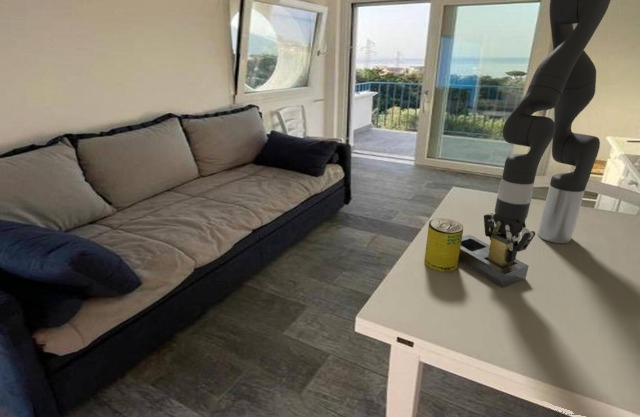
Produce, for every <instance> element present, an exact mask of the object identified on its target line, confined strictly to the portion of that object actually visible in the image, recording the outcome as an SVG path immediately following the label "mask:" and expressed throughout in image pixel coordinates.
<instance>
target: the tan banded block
mask: <svg viewBox="0 0 640 417" xmlns="http://www.w3.org/2000/svg"><path fill="white" fill-rule="evenodd" d="M513 237H514V236H512V238H513ZM514 242H515V241H514ZM490 243H491V245H490V244H489V245H490V250H489V255H488V260H487V261H489V262H491V263H493V264H494V265H496V266H498V267H500V268H501V269H503V268H506V267H509V266H512V265H513V262H514V261H512V262H510V263H507V262H506V258H507V253H508V250H509V244H510V242H509V240H508V239H507V236H506V235H505V234H502V233H499V232H498V233H497V234H496V233H492V240H490Z"/></svg>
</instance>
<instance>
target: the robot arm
mask: <svg viewBox="0 0 640 417" xmlns="http://www.w3.org/2000/svg"><path fill="white" fill-rule="evenodd" d="M610 4H611V0H550V1H549V24H550V31H551V32H550V33H551V39H552V40H551V41H552V51H551V52H550V53H549V54H548V55H547V56H546V57H545V58H544V59H543V60H542V61H541V62H540V64H539V65H538V66H537V68H536V70H535V72H534V73H533V76H532V78H531V81H530V83H529V85H528V87H527V90H526V92H525V95H524V96H523V97H522V98H521V100H520V101H519V103H518V104H517V105H516V107H514V110H512V111H511V113H510V114H509V116H508V118H506V120H505V122H504V124H503V127H502V138H503V140H504V141H505V142H506V143H507V144H511V145H516V146H522V147H528V148H529V151H528V152H527V153H516V154H511V155H508V156H507V157H506V158H505V162H504V167H503V171H502V176H501V180H500V183H499V186H498V190H497V196H496V200H495V208H494V213H492V212H491V213H487V214H484V215H483V224H484V225H483V226H484V235H485V236H486V237H488V238H489V239H490V241H491V240H492V233H496V234H497V233H498V232H499V233H502V234H505V235H506V236H507V239H508V240H509V242H510V244H509V250H508V253H507V258H506V262H507V263H510V262H512V261H514V260H515V259H517V254H518V253H519V252H522V251H526V250H527V248H528V246H530V244H531V242H532V240H533V238H534V237H535V236H536V232H535V231H534V230H532V231H530V229H528V228H527V227H526V226H527V225H526V220H527V217H528V214H529V210H530V207H531V203H532V199H533V198H532V197H533V194H534V184H535V179H536V174H537V170H538V167H539V164H540V162H541V160H542V158H543V155H544V154H545V152H546V150H547V148H548V147H549V145H550V144H551V157H552V159H553V160H554V161H555V162H557V163H559V164H564V165H569V166H573V167H575V168H574V170H573V171H571V172H564V173H563V172H562V173H556V174H554V175H552V177H551V179H550V182H549V187H548V190H547V195H546V198H545V202H544V206H543V210H542V214H541V219H540V222H539V228H538V230H537V236H538V237H539V238H541V239H542V240H544V241H547V242H550V243H555V244H568V243H570V242H571V240H572V238H573V235H574V231H575V227H576V225H577V221H578V218H579V214H580V208H581V206H582V203H583V199H584V194H585V191H586V189H587V185H588V183H589V180H590V176H591V174H592V170H593V167H594V165H595V162H596V159H597V157H598V153H599V151H600V147H601V146H600V145H601V143H600V138H599V137H597V136H595V135H590V134H582V133H576V132H573V131H572V125H573V122H574V121H575V119H576V118H577V117H578V116H579V115H580V113H582V111H584V109H586V107H587V106H588V105H589V104H590V102H591V101H592V100H593V99H594V96H595V94H596V84H597V83H596V82H597V69H596V68H597V67H596V65H595V64H594V62H593V61H592V59H591V57H590V56H589V55H588V54H587V52H586V51H585V48H586V47H587V45H588V44H589V42H590V41H591V39H592V37H593V36H594V34H595V32H596V31H597V29H598V27H599V25H600V24H601V22H602V20H603V18H604V17H605V15H606V13H607V11H608V9H609V6H610ZM574 24H576V25H575V27H574ZM552 109H554V112H553V113H554V117H553V118H554V120H553V118H551V117H548V116H541V115H534V114H535V113H537V112H541V111H549V110H552ZM551 142H552V143H551ZM521 232H522V233H521ZM512 236H514V237H513V238H512ZM514 241H515V242H514ZM489 245H491V242H490V243H489ZM489 249H490V248H489Z"/></svg>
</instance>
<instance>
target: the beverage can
mask: <svg viewBox="0 0 640 417" xmlns="http://www.w3.org/2000/svg"><path fill="white" fill-rule="evenodd" d="M427 228H428V229H427V235H426V246H425V251H424V252H425V253H424V261H423V262H424V264H425V265H426V267H428V268H429V269H431V270H433V271H435V272H440V273H448V272H450V273H451V272H453V271H455V270H457V268H458V265H459V264H458V263H459V261H458V259H459V253H460V246H461V240H462V236H463V234H464V225H463V224H462V223H461V222H459V221H457V220H454V219H450V218H443V217H442V218H441V217H440V218H433V219H431V220H430V221H429V223H428V227H427Z"/></svg>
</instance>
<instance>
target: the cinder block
mask: <svg viewBox="0 0 640 417" xmlns="http://www.w3.org/2000/svg"><path fill="white" fill-rule="evenodd" d="M489 248H490V244H488V243H486V242H485V241H482V240H480V239H479V238H476V237H475V236H473V235H471V234H467V235H462V240H461V246H460V253H459V259H458V263H459V262H460V263H461V264H463V265H465V266H466V267H468V268H469V269H471V270H473V272H475V273H477V274H479V275H480V276H482V277H484V278H486V279H487V280H489V281H490V282H492V283H493V284H495V285H497V286H498V287H500V288H505V287H508V286H510V285H512V284H516V283H519V282H520V281H524V280H526V279H527V274H528V269H529V265H528V264H526V263H524V262H523V261H520V260H519V259H517V258H516V259H515V260H514V262H513V265H512V266H509V267H506V268H503V269H501V268H500V267H498V266H496V265H494V264H493V263H491V262H489V261H487V260H488V255H489V250H490V249H489Z"/></svg>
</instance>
